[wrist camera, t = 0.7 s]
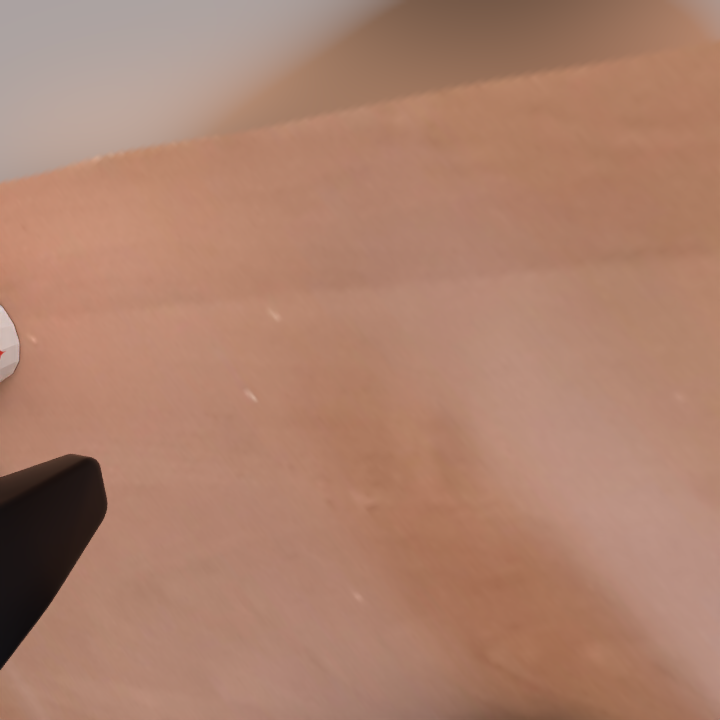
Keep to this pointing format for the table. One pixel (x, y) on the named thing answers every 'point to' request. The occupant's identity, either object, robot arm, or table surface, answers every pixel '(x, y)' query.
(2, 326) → the beverage cup
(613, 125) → the table surface
